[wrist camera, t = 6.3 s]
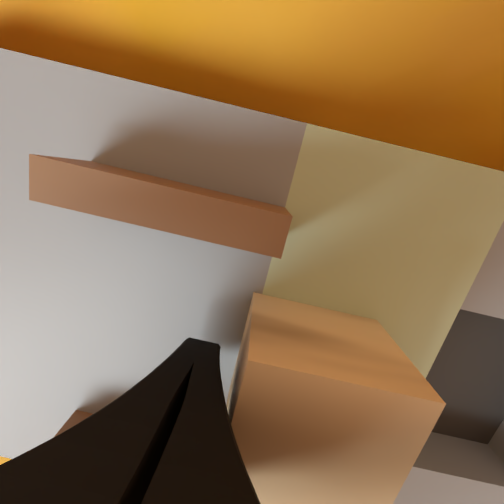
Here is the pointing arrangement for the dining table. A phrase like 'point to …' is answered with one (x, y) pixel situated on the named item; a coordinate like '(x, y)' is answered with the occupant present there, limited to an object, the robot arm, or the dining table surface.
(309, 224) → the tunnel deck
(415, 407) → the maple block
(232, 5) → the dining table surface
